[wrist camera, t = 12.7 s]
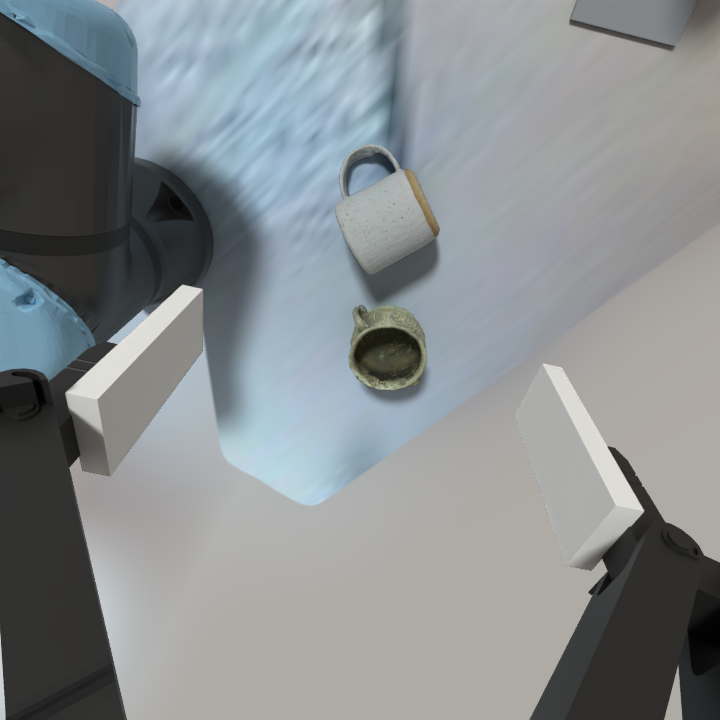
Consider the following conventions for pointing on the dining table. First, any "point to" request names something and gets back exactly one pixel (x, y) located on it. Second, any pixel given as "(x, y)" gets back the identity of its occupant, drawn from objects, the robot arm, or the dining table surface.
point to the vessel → (387, 348)
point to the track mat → (637, 17)
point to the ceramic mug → (384, 215)
